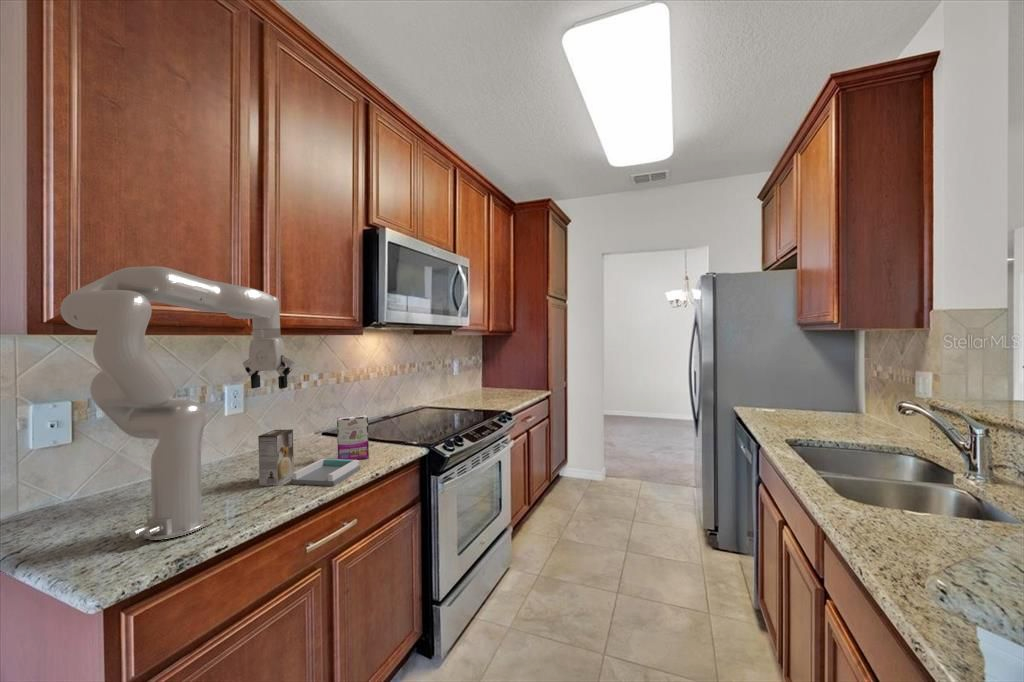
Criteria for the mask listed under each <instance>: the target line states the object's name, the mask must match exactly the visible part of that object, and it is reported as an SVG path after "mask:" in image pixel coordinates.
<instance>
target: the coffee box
mask: <svg viewBox="0 0 1024 682" xmlns="http://www.w3.org/2000/svg"><path fill="white" fill-rule="evenodd" d="M257 438H258V474H259V475H258V477H259V478H258V484H259V486H260V487H261V486H264V487H266V486H269V487H271V486H272V485H273V487H275V486H277V487H278V486H279V485H282V484H283V483H285V482H286V481H288V480H291V479H292V473H293V472H295V471H294V465H295V464H294V461H295V460H294V429H291V428H290V429H273V430H271V431H268V432H266V433H263V434H260V435H258V437H257ZM281 483H282V484H281ZM270 485H271V486H270Z"/></svg>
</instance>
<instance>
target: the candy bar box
mask: <svg viewBox="0 0 1024 682" xmlns="http://www.w3.org/2000/svg"><path fill="white" fill-rule="evenodd" d="M368 421H369V416H368V415H367V414H363V415H351V416H340V417H339V416H338V417H336V429H337V430H336V433H337V438H336V439H337V459H348V460H356V459H360V460H364V459H365V458H368V459H369V458H370V457H369V456H370V455H369V454H370V450H369V445H370V444H369V422H368ZM365 460H366V459H365Z"/></svg>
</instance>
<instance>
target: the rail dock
mask: <svg viewBox="0 0 1024 682" xmlns="http://www.w3.org/2000/svg"><path fill="white" fill-rule="evenodd" d="M359 463H360V461H359V460H348V459H338V458H321V459H318V460H316V461H315V462H311V463H310V464H308V465H306V466H304V467H302V468H299V469H297V470H296V471H294V472H293V473H292V477H291V478H290V484H291V485H302V484H306V485H307V486H322V487H323V486H326V487H327V486H328V487H335V486H336V485H338V484H340V483H341V482H343V481H344V480H347V479H348V478H349V477H351V476H353V475H354V474H356V473H358V472H359V471H361V465H360V464H359ZM358 470H359V471H358ZM355 472H356V473H355ZM353 473H354V474H353ZM352 474H353V475H352Z"/></svg>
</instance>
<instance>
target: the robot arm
mask: <svg viewBox="0 0 1024 682" xmlns="http://www.w3.org/2000/svg"><path fill="white" fill-rule="evenodd" d="M151 303H160V304H166V305H170V306H176V307H181V308H186V309H189V310H194V311H198V312H209V313H225V314H226V315H227V316H228V317H229V318H233V319H236V320H251V319H252V321H251V322H252V331H251V332H250V335H251V336H252V337H253V339H252V338H251V339H250V343H249V349H248V359H246V360H245V361H243V362H242V365H243V367H244V370H245V372H246V373H247V374H248V376H249V377H250V385H251V386H250V387H251V389H257V388H261V375H260V374H259V373H260V372H261V371H264V372H266V371H269V372H271V371H276V372H277V373H278V374H279V376H278V378H277V379H278V382H277V383H278V389H279V390H281V389H285V388H288V382H289V381H288V376H289V375H290V373H291V372H292V370H293V367H294V365H295V362H294V361H293V360H291V359H290V358H288V357H286V349H285V344H284V341H283V338H282V337H281V318H280V317H281V315H280V312H281V311H280V300H279V298H278V296H273V295H272V294H269V293H268V292H265V291H262V290H259V289H256V288H252V287H248V286H243V285H237V284H231V283H226V282H221V281H216V280H211V279H206V278H203V277H200V276H197V275H193V274H190V273H187V272H183V271H180V270H177V269H173V268H169V267H166V266H157V265H149V266H131V267H130V266H129V267H124V268H120V269H118V270H116V271H113V272H111V273H109V274H107V275H105V276H103V277H100V278H98V279H97V280H95V281H92V282H91V283H88V284H87V285H84V286H82V287H79V288H78V289H76V290H74V291H72V292H71V293H69V294H68V295H67V296H66V297H64V299H63V300H62V302H61V304H60V307H59V308H60V309H59V310H60V315H61V317H62V319H63V320H64V321H65V322H66V323H67V324H68V325H70V326H71V327H74V328H76V329H81V330H86V331H97V332H96V335H95V338H94V342H93V347H92V354H93V355H92V356H93V358H94V361H95V363H96V364H97V365H98V367H99V369H100V370H101V371H100V372H98V373H97V374H96V375H94V377H93V378H92V381H91V382H90V388H89V389H90V390H89V391H90V392H89V393H90V395H91V398H92V400H93V402H94V403H95V405H96V406H97V407H98V409H100V410H101V411H102V412H103V413H104V415H106V416H107V417H108V419H110V420H111V421H112V422H113V423H114V425H116V426H117V427H118V428H119V429H120V430H121V431H123V433H125V434H126V435H128V436H129V437H132V438H135V439H145V440H158V442H157V445H156V447H155V449H154V450H153V453H152V456H151V459H150V482H151V484H150V487H151V488H150V489H151V492H150V493H151V495H150V496H151V498H150V499H151V500H150V501H151V517H148V518H146V523H144V525H143V526H140V527H137V528H134V529H132V530H131V531H130V532H129V537H130V539H131V540H135V539H137V538H140V537H143V539H144V538H145V540H146V539H150V540H149V541H151V540H155V539H165V538H171V537H178V536H182V535H185V536H187V535H186V534H188V535H190V534H189V533H191V534H193V533H192V532H194V531H196V530H198V531H200V530H202V529H203V527H204V528H205V527H207V526H208V525H209V524H210V521H211V520H210V519H211V518H210V516H209V514H206V513H203V509H202V507H203V506H202V505H203V504H202V503H203V499H202V443H203V442H202V441H203V436H204V431H205V426H206V423H207V422H206V420H207V415H206V411H205V409H204V408H203V407H202V405H200V404H198V403H197V402H194V401H191V400H186V399H173V398H174V396H175V393H176V386H175V383H174V381H173V379H172V378H171V377H170V375H169V374H168V372H166V370H165V369H164V368H163V366H162V365H161V364H160V363H159V362H158V360H157V359H156V358H155V357H154V356H153V354H152V353H151V352H150V349H149V348H148V346H147V344H146V340H145V339H146V338H145V336H146V331H147V328H148V325H149V322H150V319H151V317H152V311H153V310H152V304H151ZM207 524H208V525H207ZM201 528H202V529H201ZM199 529H200V530H199ZM196 532H197V531H196ZM194 533H195V532H194ZM182 537H183V536H182ZM178 538H179V537H178Z"/></svg>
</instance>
